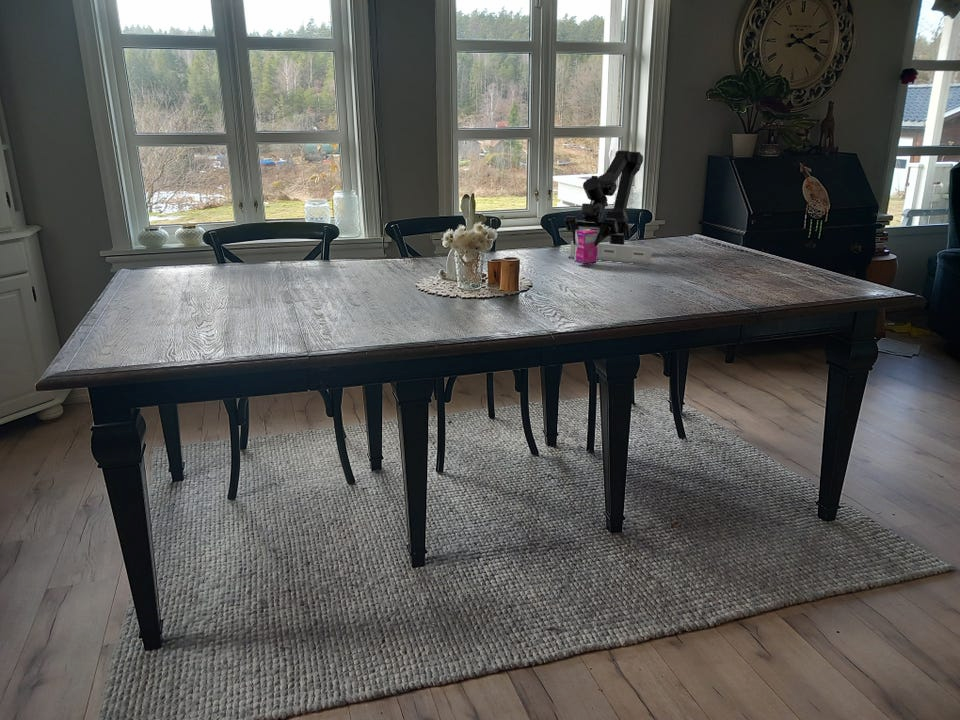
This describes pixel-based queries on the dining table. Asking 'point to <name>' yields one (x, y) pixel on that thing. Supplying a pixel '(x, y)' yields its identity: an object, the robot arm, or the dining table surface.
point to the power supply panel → (620, 253)
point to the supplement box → (585, 246)
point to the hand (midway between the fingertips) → (584, 244)
